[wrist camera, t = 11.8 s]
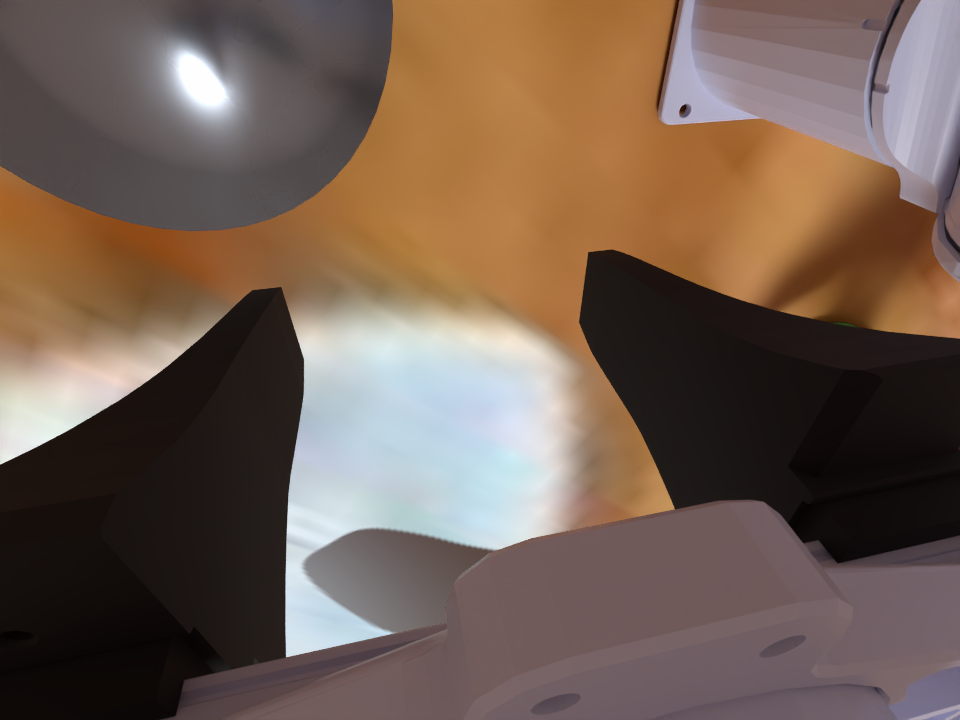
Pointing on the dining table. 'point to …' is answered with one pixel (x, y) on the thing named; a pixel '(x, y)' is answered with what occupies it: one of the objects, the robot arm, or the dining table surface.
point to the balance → (188, 102)
